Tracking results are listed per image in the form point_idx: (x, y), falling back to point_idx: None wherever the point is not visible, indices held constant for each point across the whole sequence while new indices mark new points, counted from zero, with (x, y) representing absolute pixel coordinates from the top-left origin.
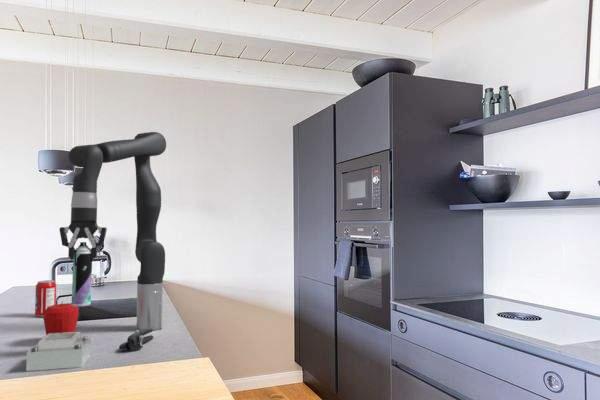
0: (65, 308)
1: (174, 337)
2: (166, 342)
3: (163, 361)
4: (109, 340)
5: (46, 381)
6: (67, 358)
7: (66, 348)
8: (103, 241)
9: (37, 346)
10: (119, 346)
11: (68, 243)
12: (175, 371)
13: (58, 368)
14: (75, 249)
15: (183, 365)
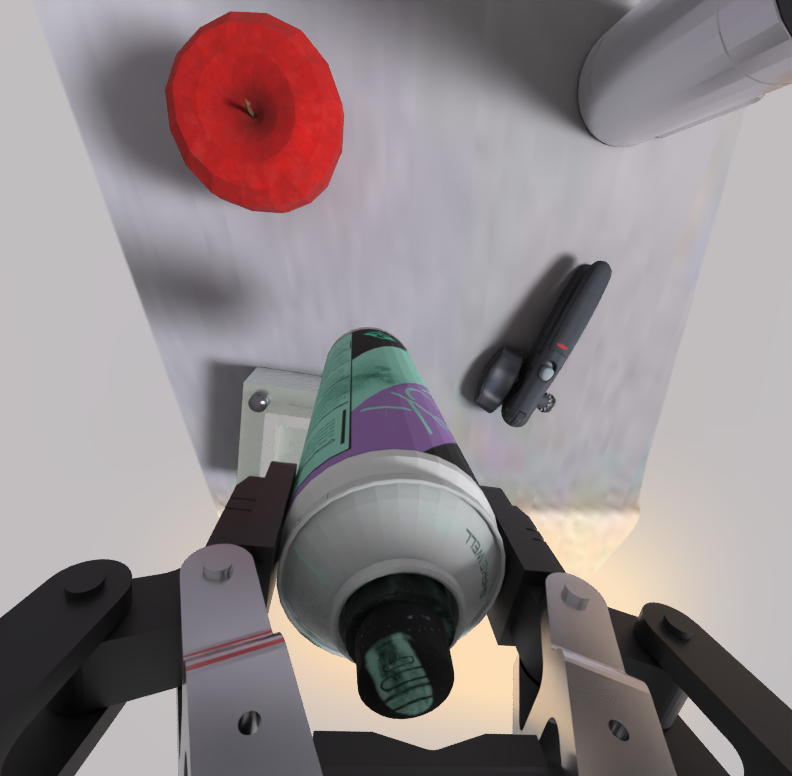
0: (281, 188)
1: (656, 292)
2: (614, 345)
3: (555, 510)
4: (457, 233)
5: None
6: None
7: None
8: (725, 679)
9: (249, 444)
10: (476, 401)
11: (158, 684)
12: None
13: None
14: (299, 613)
15: (584, 549)
